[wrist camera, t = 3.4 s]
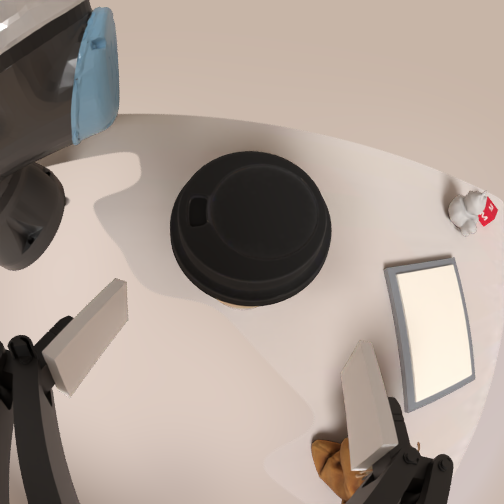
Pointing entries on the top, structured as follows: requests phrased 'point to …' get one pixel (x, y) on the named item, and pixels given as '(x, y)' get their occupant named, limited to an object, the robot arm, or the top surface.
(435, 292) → the picture frame
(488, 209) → the dice
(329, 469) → the stuffed squirrel
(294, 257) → the coffee cup
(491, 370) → the top surface
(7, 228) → the robot arm
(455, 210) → the light grey lumpy piece
